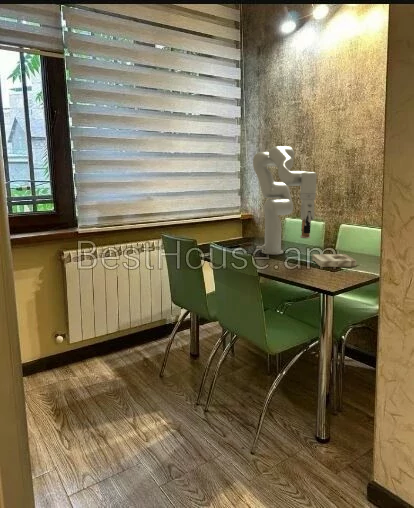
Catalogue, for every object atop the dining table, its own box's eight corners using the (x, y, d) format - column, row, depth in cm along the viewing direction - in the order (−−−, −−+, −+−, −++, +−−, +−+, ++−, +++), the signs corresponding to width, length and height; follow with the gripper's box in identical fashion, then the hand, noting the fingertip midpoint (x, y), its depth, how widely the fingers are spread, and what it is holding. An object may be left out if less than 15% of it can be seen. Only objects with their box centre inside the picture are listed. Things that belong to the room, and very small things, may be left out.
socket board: (320, 266, 206) (321, 261, 206) (312, 259, 222) (312, 254, 221) (356, 266, 206) (356, 260, 206) (345, 259, 222) (345, 254, 222)
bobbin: (301, 238, 209) (302, 219, 207) (299, 236, 214) (300, 217, 212) (311, 238, 209) (312, 219, 207) (309, 236, 214) (310, 217, 212)
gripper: (319, 198, 199) (317, 235, 203) (310, 195, 215) (308, 229, 219) (304, 198, 199) (302, 235, 203) (296, 195, 215) (294, 229, 219)
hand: (305, 232), depth 211 cm, fingers closed on bobbin, 4 cm apart
